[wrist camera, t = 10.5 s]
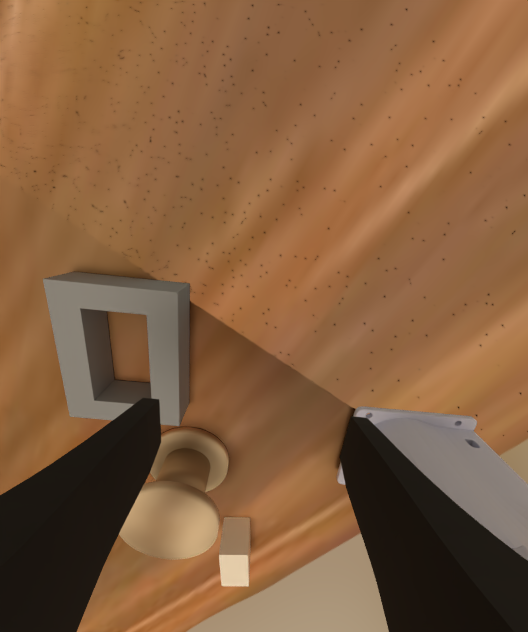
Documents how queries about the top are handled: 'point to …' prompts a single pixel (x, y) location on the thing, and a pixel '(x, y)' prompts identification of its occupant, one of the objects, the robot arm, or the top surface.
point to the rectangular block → (235, 552)
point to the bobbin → (179, 497)
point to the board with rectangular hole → (95, 350)
